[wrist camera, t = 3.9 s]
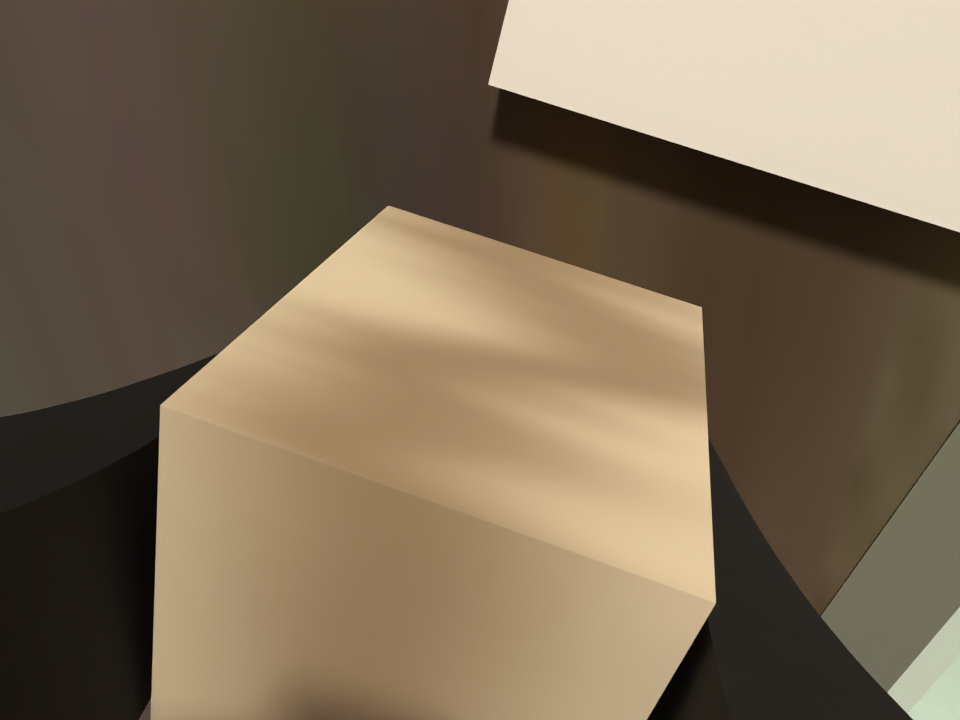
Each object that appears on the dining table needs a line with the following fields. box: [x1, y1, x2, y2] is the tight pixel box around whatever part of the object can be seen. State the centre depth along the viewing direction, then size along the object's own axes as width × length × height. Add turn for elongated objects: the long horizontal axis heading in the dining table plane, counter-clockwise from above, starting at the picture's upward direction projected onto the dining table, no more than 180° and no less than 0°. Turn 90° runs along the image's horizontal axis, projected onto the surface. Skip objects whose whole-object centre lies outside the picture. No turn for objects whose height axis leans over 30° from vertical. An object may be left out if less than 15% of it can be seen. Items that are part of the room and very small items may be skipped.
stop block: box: [151, 206, 716, 720], centre depth 10 cm, size 5×5×6 cm
